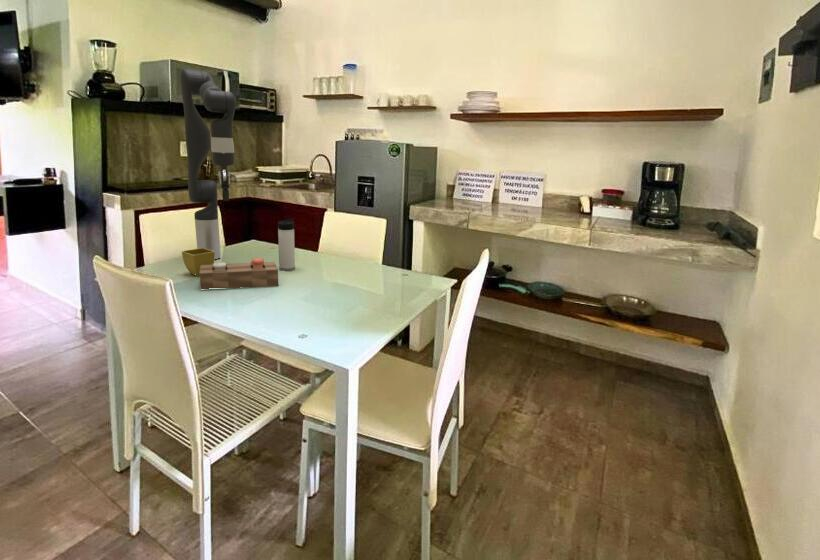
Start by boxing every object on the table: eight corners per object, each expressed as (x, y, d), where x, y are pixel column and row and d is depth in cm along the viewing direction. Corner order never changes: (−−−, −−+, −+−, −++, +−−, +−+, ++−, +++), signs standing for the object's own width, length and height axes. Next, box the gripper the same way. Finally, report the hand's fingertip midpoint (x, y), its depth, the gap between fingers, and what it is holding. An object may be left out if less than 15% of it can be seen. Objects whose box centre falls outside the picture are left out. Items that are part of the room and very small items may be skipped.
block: (201, 280, 177) (200, 265, 175) (275, 276, 186) (274, 261, 184) (200, 290, 166) (199, 273, 164) (278, 285, 175) (277, 269, 173)
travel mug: (297, 267, 201) (296, 219, 195) (291, 271, 194) (290, 222, 189) (282, 266, 201) (281, 218, 196) (276, 270, 195) (275, 221, 189)
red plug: (251, 276, 179) (250, 258, 177) (264, 276, 181) (263, 257, 179) (252, 280, 175) (251, 261, 173) (265, 279, 177) (264, 260, 175)
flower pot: (195, 278, 179) (193, 254, 177) (182, 273, 184) (180, 250, 182) (216, 274, 186) (215, 251, 184) (204, 269, 191) (202, 247, 189)
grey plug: (214, 281, 175) (212, 262, 173) (227, 280, 176) (226, 261, 174) (214, 285, 171) (212, 265, 169) (227, 284, 172) (226, 264, 170)
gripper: (211, 150, 175) (215, 198, 179) (211, 151, 163) (214, 202, 168) (233, 150, 177) (236, 198, 182) (234, 152, 165) (237, 202, 170)
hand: (226, 200), depth 175 cm, fingers closed
